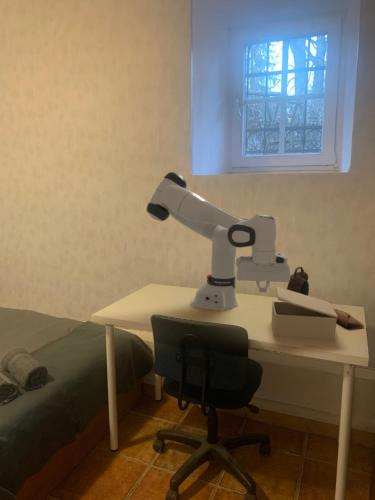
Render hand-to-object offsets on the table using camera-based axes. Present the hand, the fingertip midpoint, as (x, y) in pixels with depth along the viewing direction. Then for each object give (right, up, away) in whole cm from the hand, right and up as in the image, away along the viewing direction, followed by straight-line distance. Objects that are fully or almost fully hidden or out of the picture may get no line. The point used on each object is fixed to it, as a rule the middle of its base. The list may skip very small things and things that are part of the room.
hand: (262, 291), depth 147 cm
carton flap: (+16, -4, 0) cm, 17 cm away
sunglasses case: (+39, -15, +15) cm, 44 cm away
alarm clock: (+22, -12, +31) cm, 40 cm away
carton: (+16, -17, +3) cm, 23 cm away
